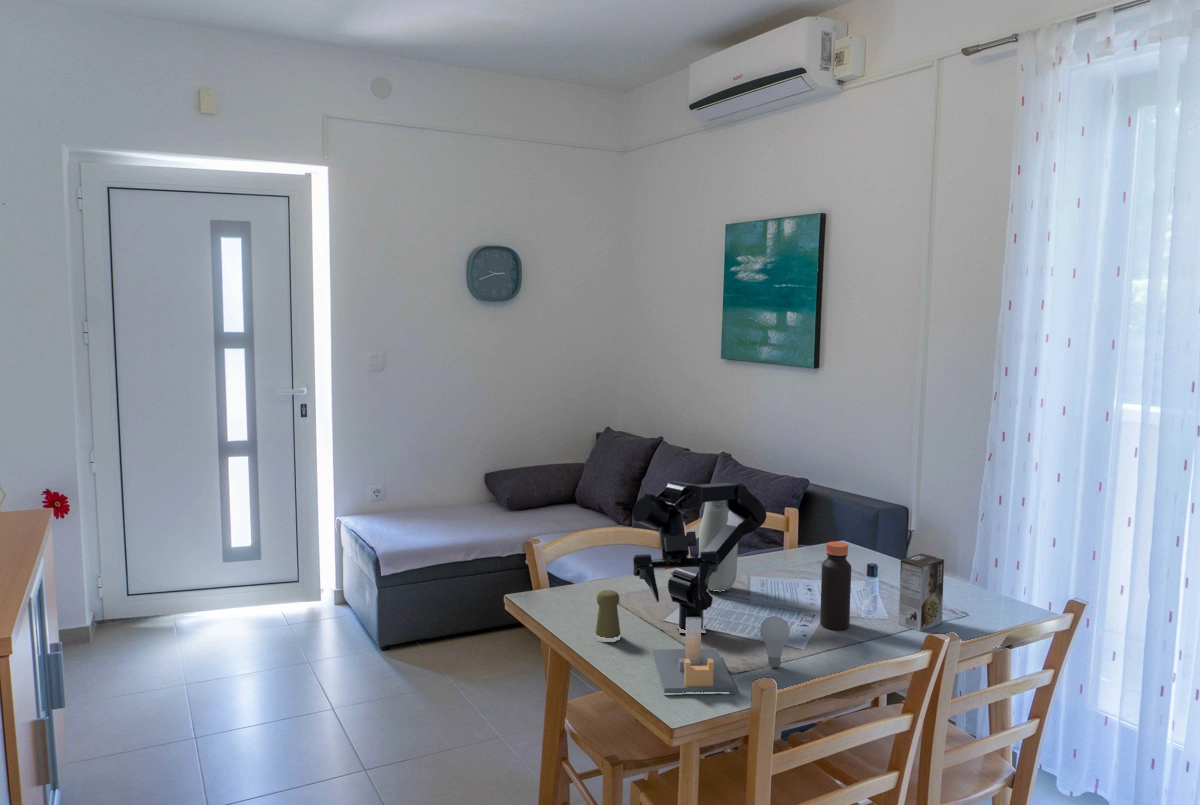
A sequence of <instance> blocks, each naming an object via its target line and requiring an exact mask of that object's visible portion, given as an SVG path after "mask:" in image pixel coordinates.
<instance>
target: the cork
mask: <svg viewBox="0 0 1200 805" xmlns="http://www.w3.org/2000/svg"><path fill="white" fill-rule="evenodd" d="M596 596H597V597H596V603H597V604H598V612H597V621H596V626H595V633H596V635H598V636H600V637H605V638H614V637H618V636H619V635H620V634H621V629H620V628H621V627H620V620H619V619H620V618H619V611H618V610H619V609H618V605H619V603H620V595H619V593H618V592H617V591H615V590H612V589H603V590H601V591H599V592H598V594H597V595H596Z"/></svg>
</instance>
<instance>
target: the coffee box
mask: <svg viewBox="0 0 1200 805" xmlns="http://www.w3.org/2000/svg"><path fill="white" fill-rule="evenodd" d="M944 569H945V559H942V558H939V557H936V556H934V555H929V554H927V553H919V554H918V553H917V554H915V555H912V556H909V557H906V558H902V559H900V571H899V572H900V573H899V574H900V576H899V600H898V601H899V602H898V625H900V626H903V627H906V628H908V629H912V630H915V631H917V632H923V631H926V630H928V629H931V628H934V627H935V626H938V625H940V624H942V623H943V604H944V603H943V602H944V601H943V600H944V599H943V597H944V576H945V575H944V574H945V573H944V572H945V570H944Z"/></svg>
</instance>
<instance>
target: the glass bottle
mask: <svg viewBox="0 0 1200 805" xmlns="http://www.w3.org/2000/svg"><path fill="white" fill-rule="evenodd" d="M729 511H730V510H729V509H728V507H727V506H726V500H723V501H712V502H704V508H703V516H702V519H701V521H700V522H701V523H700V526H699V531H698V532H699V533H698V534H699V535H698V555H699V554H700V552H703V551H704V550H705V548H706V547H707V546H708V545H709V544H710V542H711V541H712V540H713V539H714V538H715V537H716V535H717V534H718V533H719V532H720V531H721V530H722V528H723V527H724V526H725V525H726V524H727V518H728V512H729ZM738 544H739V542H738V543H737V544H736V545H735V546H734V548H733V549H732V550H731V551H730V552H729V554H728V555H727V556H726V557H725V558H724V560H723V561H722V562H721V563H720V564H719V566H718V569H717V571H716V572H713V573H712V575H711V576H710V577H709V583H708V588H709V589H712V590H719V591H722V590H727V591H728V589H729V590H730V589H731V588H732V586H733V585H734V583H735V582H736V579H737V572H738V548H739V545H738ZM709 589H708V590H709Z"/></svg>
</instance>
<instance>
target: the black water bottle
mask: <svg viewBox="0 0 1200 805" xmlns="http://www.w3.org/2000/svg"><path fill="white" fill-rule="evenodd" d="M848 550H849V544H848V543H846V542H842V541H829V542H826V550H825V553H826V556H827V558H826V559H825V560H824V561H823V562H822V564H821V578H820V580H821V581H820V583H821V584H820V585H821V586H820V610H819V611H820V616H819V618H820V619H819V623H821V624H820V625H821V626H822V627H823V626H824V627H823V628H825V627H826V628H825V629H828V628H829V630H832V629H834V630H833V631H845V630H847V629H848V628H849V627H850V622H851V621H850V620H851V619H850V616H851V592H852V590H851V589H852V585H851V584H852V565H851V563H850V562H849V561H848V560H847V557H848V553H849V551H848Z"/></svg>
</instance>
